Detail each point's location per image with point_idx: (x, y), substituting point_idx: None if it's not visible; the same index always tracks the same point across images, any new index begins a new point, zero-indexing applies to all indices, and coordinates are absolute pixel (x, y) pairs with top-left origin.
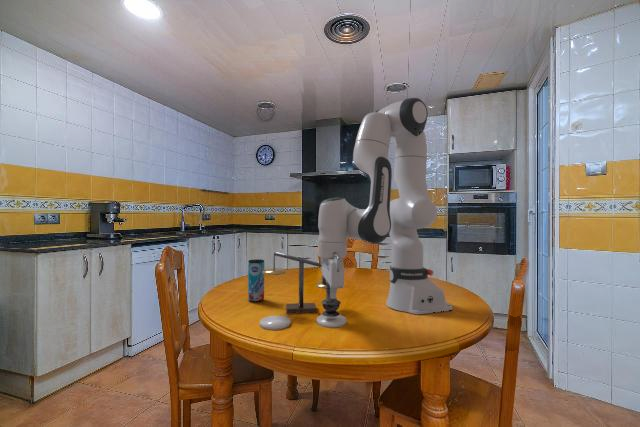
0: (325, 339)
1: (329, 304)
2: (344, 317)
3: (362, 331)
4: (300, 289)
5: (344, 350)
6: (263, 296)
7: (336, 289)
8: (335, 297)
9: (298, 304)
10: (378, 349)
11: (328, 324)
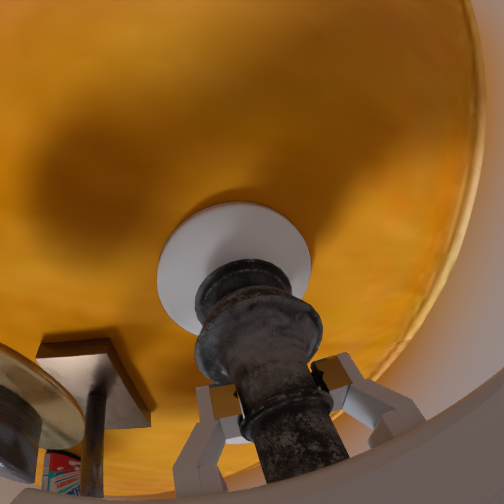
0: (392, 283)
1: (315, 351)
2: (216, 216)
3: (361, 138)
4: (102, 465)
5: (456, 231)
6: (59, 460)
7: (397, 395)
8: (348, 357)
9: (83, 404)
10: (473, 134)
11: (304, 290)
